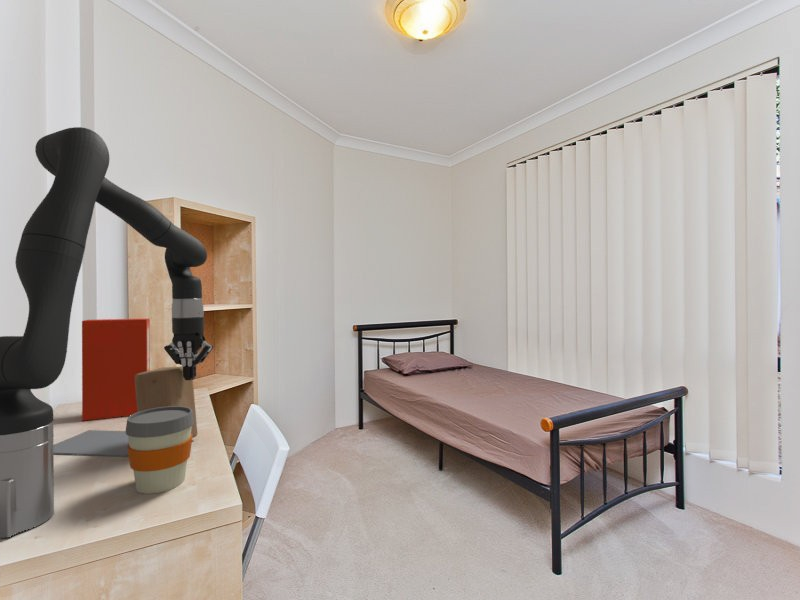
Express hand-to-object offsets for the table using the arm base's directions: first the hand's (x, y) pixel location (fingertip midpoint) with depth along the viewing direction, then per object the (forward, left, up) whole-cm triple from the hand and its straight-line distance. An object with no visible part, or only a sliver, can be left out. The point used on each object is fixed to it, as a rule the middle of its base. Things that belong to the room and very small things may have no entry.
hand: (189, 379), depth 105 cm
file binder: (+24, +39, -18) cm, 49 cm away
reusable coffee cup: (-21, -6, -18) cm, 28 cm away
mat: (0, +23, -18) cm, 29 cm away
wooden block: (0, +5, -18) cm, 18 cm away
